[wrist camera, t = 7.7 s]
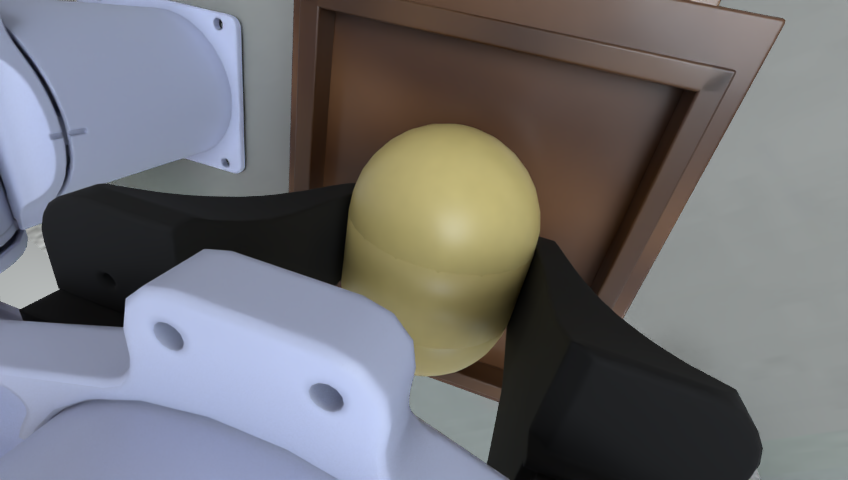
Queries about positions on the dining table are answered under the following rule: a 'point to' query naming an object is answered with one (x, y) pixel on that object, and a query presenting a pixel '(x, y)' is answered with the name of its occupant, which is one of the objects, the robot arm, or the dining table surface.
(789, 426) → the dining table surface
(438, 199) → the pale yellow lobed ovoid
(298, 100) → the brown wooden tray
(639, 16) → the cabinet
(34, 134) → the robot arm
